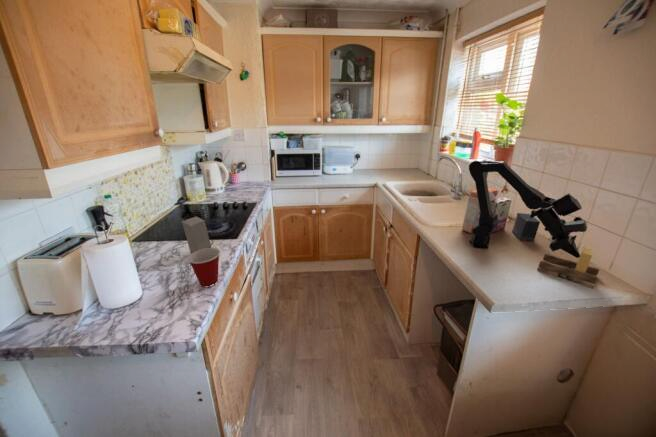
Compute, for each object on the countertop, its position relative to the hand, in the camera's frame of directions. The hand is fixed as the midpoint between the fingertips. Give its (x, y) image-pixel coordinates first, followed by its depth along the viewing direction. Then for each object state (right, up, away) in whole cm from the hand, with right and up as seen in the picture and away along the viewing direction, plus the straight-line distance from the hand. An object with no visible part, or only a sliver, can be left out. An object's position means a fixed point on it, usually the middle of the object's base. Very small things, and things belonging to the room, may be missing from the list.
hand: (578, 257), depth 108 cm
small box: (+2, +5, +34) cm, 34 cm away
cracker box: (-18, +9, +41) cm, 45 cm away
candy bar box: (-9, +8, +41) cm, 43 cm away
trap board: (-1, -7, +4) cm, 8 cm away
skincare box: (-148, -1, +17) cm, 149 cm away
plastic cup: (-137, -9, -3) cm, 137 cm away
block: (+1, -6, +1) cm, 6 cm away
